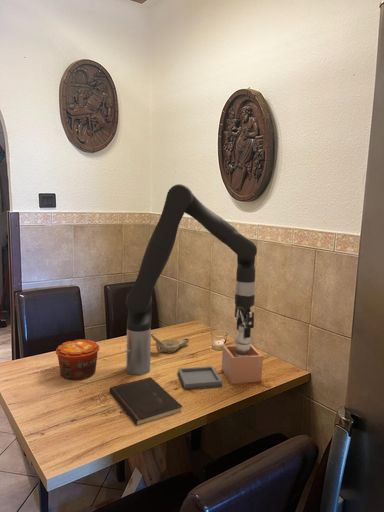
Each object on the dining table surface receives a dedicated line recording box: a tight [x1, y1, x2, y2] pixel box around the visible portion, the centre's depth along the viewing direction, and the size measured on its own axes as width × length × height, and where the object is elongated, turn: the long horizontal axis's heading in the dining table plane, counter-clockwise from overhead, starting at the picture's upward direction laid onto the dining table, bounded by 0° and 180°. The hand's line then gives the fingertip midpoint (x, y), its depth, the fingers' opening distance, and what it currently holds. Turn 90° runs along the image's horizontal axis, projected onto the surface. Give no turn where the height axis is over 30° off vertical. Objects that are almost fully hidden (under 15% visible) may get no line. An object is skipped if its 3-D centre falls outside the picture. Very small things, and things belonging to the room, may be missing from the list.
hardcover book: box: [108, 376, 183, 426], centre depth 125 cm, size 16×23×2 cm
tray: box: [177, 365, 223, 390], centre depth 142 cm, size 14×13×2 cm
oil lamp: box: [151, 333, 190, 353], centre depth 169 cm, size 9×21×10 cm, turn 130°
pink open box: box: [221, 343, 264, 385], centre depth 146 cm, size 12×12×10 cm
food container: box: [55, 339, 100, 381], centre depth 144 cm, size 16×16×11 cm
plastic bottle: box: [234, 323, 252, 357], centre depth 145 cm, size 6×7×20 cm
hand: (243, 333), depth 144 cm, fingers open, 8 cm apart
